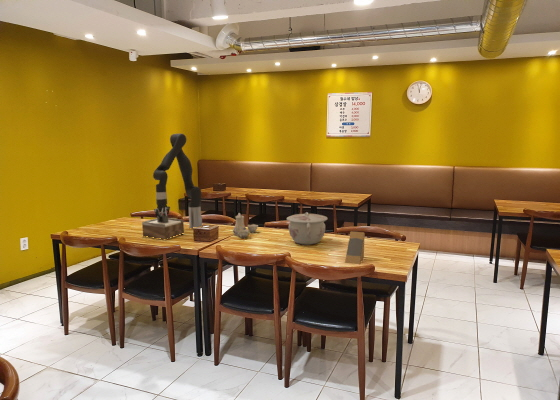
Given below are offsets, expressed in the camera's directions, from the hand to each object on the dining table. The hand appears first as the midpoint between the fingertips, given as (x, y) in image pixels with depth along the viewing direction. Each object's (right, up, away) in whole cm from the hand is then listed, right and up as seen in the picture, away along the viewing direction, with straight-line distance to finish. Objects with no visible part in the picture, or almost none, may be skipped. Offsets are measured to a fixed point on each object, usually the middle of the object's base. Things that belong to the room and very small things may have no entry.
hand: (162, 221), depth 299 cm
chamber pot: (+103, -13, -23) cm, 107 cm away
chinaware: (+59, -10, +1) cm, 60 cm away
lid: (0, -2, 0) cm, 2 cm away
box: (0, -11, +2) cm, 11 cm away
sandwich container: (+128, -19, -63) cm, 144 cm away
